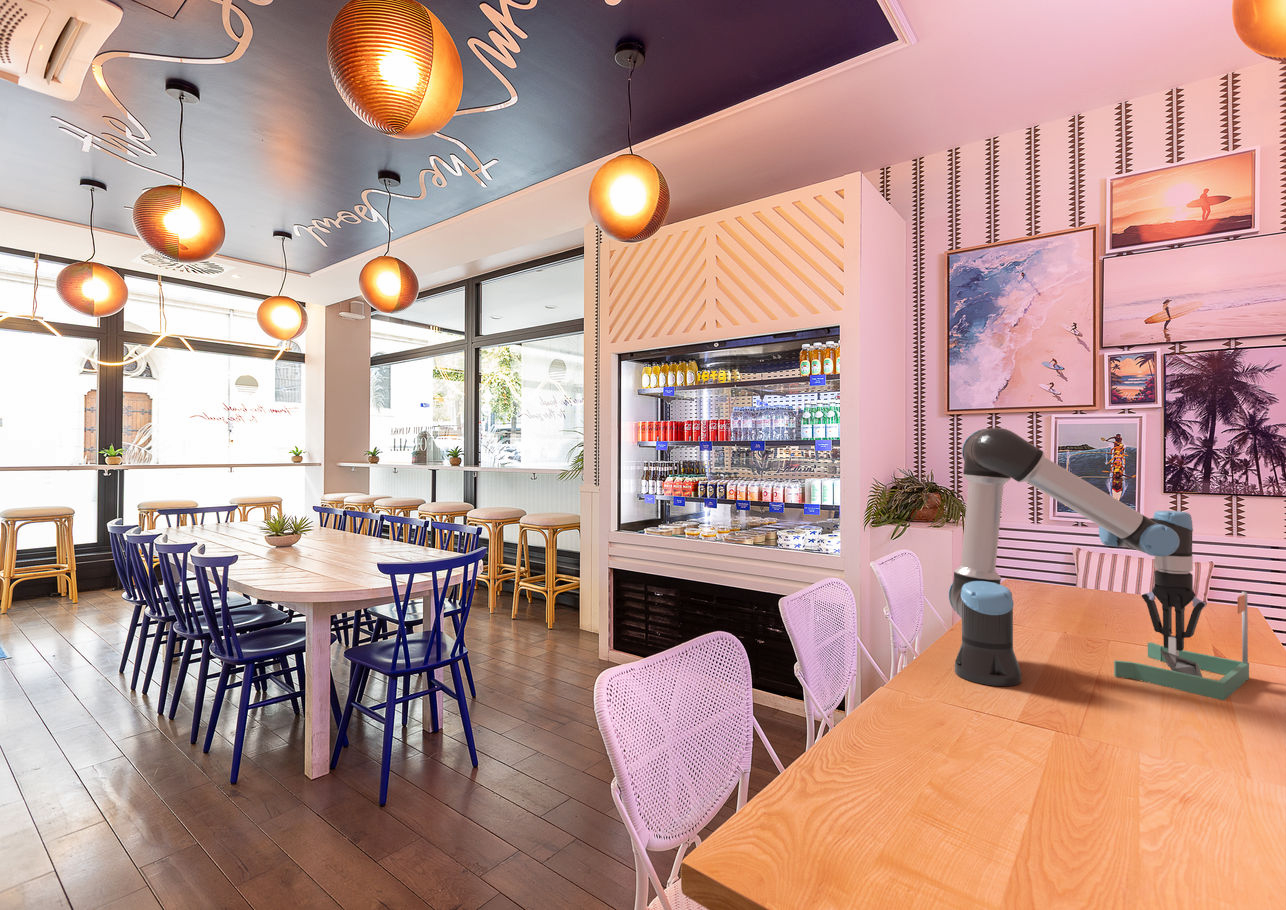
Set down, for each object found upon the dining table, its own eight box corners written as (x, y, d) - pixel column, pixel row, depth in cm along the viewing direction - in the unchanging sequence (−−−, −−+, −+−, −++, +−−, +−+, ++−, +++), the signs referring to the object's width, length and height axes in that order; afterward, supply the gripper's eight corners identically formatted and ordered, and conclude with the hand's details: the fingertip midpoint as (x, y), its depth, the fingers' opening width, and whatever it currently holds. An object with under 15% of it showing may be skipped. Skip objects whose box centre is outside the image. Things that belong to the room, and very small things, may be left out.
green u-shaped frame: (1112, 676, 160) (1112, 591, 160) (1148, 655, 175) (1148, 578, 175) (1221, 702, 143) (1220, 607, 143) (1250, 677, 158) (1250, 591, 158)
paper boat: (1225, 685, 150) (1197, 677, 148) (1205, 701, 153) (1176, 694, 151) (1186, 645, 160) (1159, 638, 158) (1168, 662, 163) (1141, 655, 162)
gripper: (1210, 573, 157) (1211, 665, 157) (1146, 565, 168) (1147, 652, 168) (1202, 576, 153) (1202, 672, 153) (1137, 568, 163) (1137, 658, 163)
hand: (1173, 661), depth 160 cm, fingers closed
